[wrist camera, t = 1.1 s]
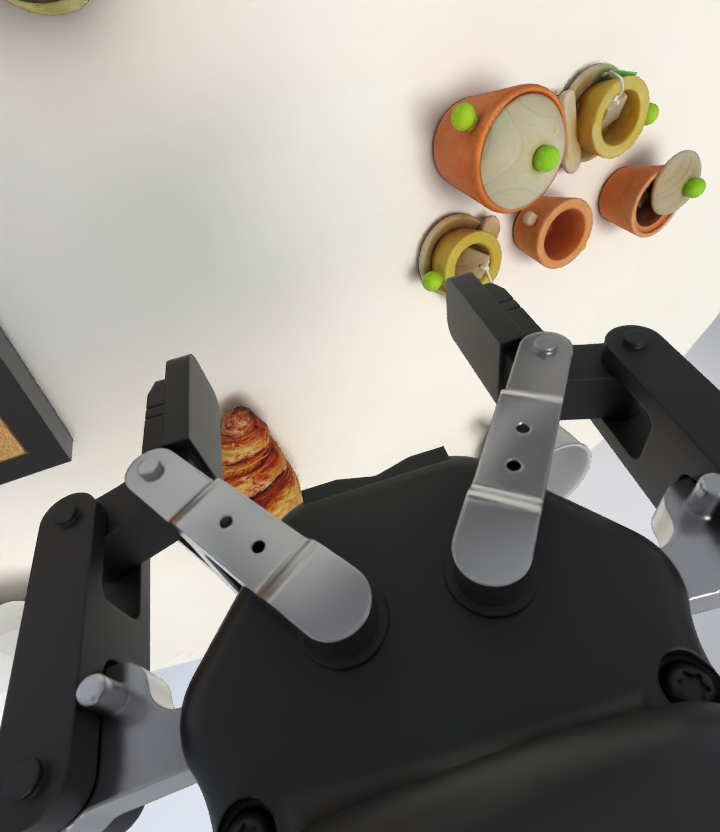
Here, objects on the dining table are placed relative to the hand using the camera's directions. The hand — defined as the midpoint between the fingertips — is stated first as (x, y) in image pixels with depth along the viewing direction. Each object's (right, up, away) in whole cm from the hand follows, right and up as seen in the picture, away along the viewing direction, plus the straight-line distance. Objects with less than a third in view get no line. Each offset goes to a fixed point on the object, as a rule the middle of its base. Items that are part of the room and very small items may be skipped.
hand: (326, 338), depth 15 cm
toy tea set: (+16, +18, +25) cm, 35 cm away
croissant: (-10, -9, +30) cm, 33 cm away
